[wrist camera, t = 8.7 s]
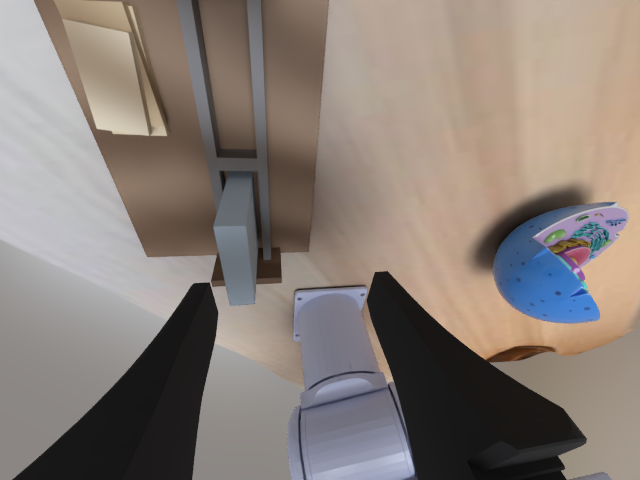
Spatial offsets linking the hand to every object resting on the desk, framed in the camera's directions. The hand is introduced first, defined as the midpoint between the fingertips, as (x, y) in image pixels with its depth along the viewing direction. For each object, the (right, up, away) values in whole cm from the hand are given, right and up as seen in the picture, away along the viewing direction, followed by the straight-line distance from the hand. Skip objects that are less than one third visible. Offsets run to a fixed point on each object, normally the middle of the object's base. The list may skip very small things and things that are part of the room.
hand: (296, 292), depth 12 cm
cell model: (+23, +3, +16) cm, 28 cm away
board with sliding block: (-6, +8, +6) cm, 12 cm away
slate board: (-4, +5, +8) cm, 10 cm away
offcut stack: (-9, +11, +2) cm, 14 cm away
